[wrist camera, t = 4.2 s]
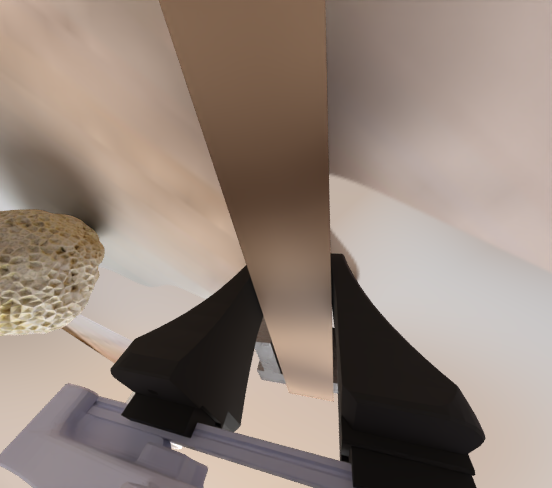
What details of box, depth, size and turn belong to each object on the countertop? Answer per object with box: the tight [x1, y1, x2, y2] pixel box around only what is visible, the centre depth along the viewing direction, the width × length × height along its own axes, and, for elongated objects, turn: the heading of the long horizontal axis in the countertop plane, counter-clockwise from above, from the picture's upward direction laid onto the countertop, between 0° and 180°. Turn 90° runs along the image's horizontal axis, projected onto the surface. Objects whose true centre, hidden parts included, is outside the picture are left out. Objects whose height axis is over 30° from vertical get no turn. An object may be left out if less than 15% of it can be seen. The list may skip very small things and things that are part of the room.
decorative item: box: [0, 209, 105, 336], centre depth 15 cm, size 12×9×10 cm
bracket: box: [255, 316, 338, 393], centre depth 18 cm, size 10×7×5 cm
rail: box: [159, 0, 334, 401], centre depth 11 cm, size 22×4×5 cm, turn 10°
